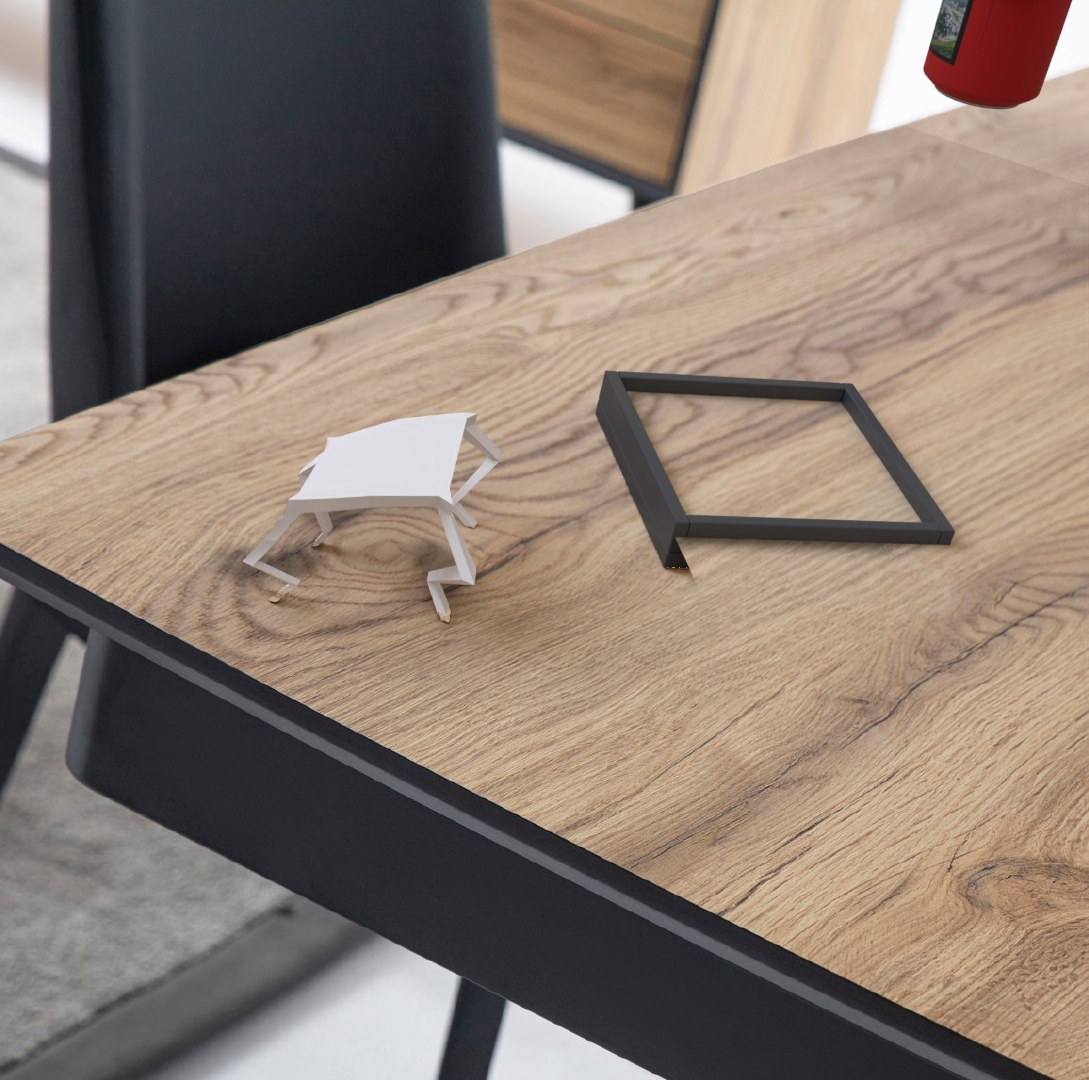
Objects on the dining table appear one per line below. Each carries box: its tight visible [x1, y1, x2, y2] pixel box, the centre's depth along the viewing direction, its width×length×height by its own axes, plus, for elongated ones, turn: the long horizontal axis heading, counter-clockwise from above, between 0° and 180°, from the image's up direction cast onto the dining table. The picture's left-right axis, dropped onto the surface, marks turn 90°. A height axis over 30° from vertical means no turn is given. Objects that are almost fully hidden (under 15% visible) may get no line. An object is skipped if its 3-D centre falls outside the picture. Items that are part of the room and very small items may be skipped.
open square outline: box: [594, 370, 956, 569], centre depth 71 cm, size 12×12×2 cm
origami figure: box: [241, 411, 505, 615], centre depth 62 cm, size 12×8×5 cm
